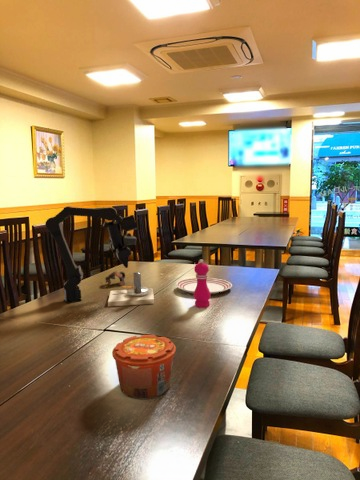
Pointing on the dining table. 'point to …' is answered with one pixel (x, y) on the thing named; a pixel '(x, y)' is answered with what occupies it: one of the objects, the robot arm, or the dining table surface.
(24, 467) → the dining table surface
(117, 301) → the stand
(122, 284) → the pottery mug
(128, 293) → the shiny grey rounded pieces
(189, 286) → the dinner plate
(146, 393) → the food container
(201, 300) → the pepper mill
